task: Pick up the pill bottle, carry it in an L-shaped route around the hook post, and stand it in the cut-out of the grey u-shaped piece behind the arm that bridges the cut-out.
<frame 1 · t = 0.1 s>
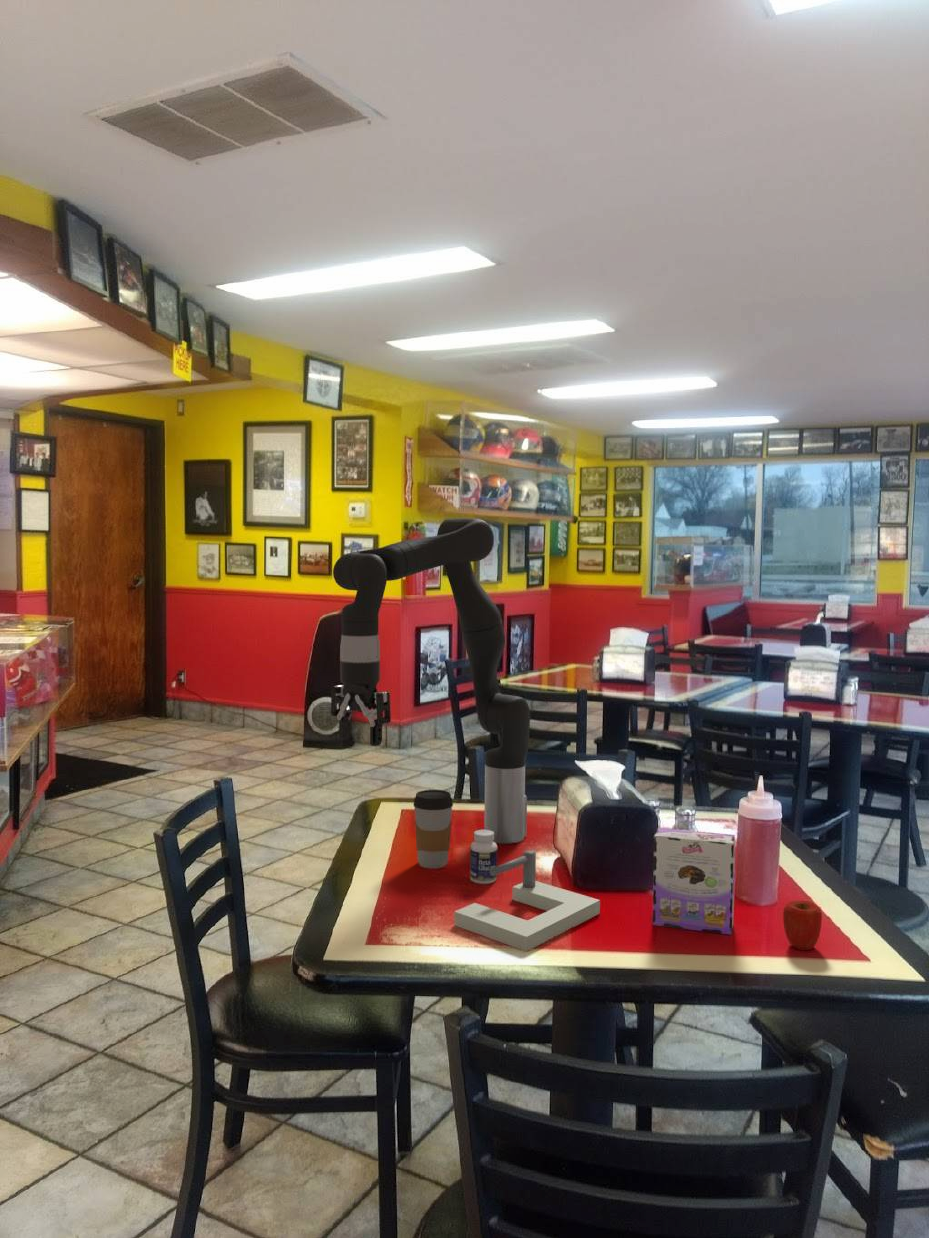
hand: (360, 742, 179), 29 cm above the table, fingers open, 8 cm apart
candy box: (692, 925, 166), on the table
pill bottle: (483, 880, 188), on the table
grey u-shaped piece: (528, 919, 168), on the table
apple: (801, 947, 157), on the table
coffee cup: (432, 864, 197), on the table
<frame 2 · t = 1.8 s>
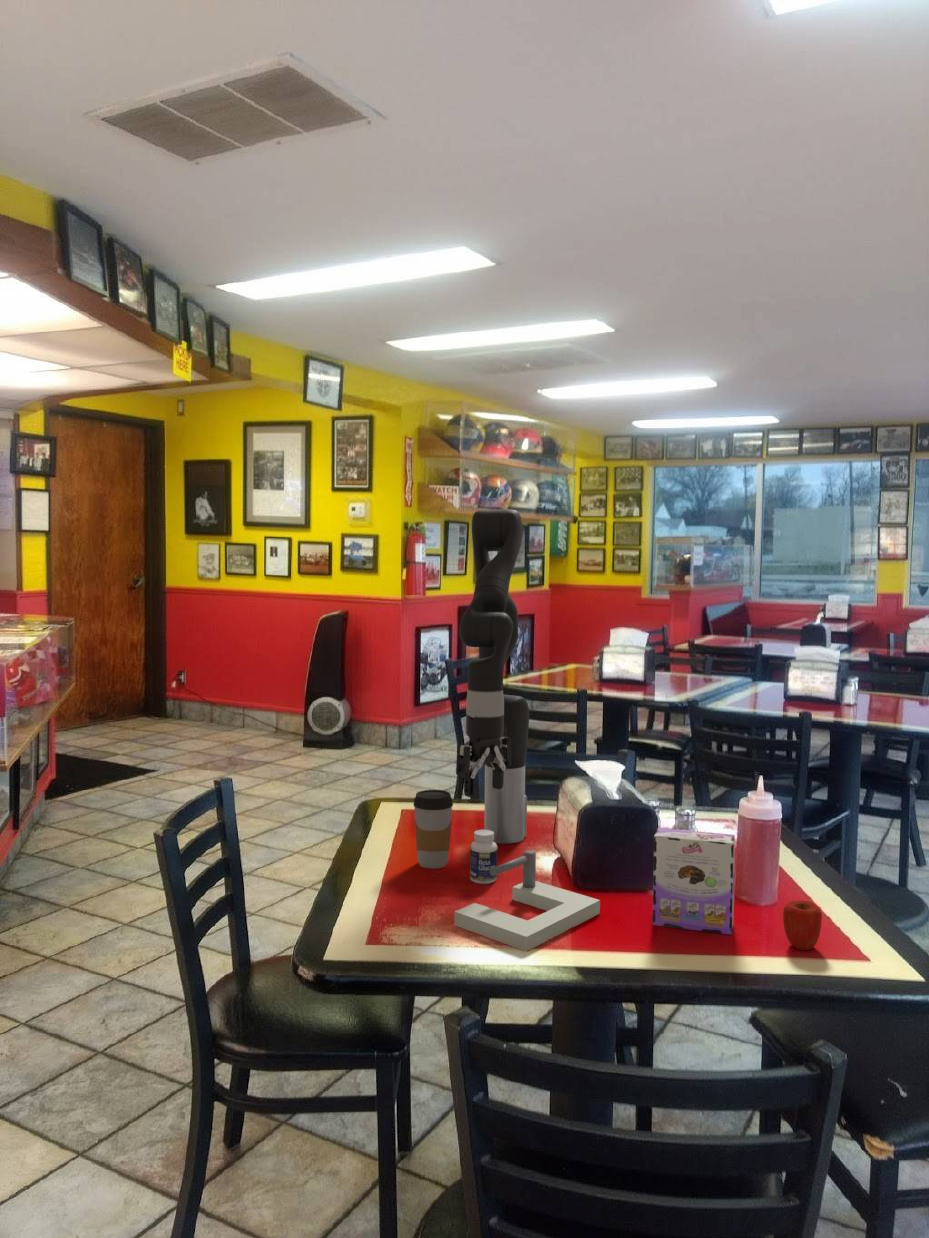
hand: (483, 792, 186), 18 cm above the table, fingers open, 8 cm apart
nothing on the table moved.
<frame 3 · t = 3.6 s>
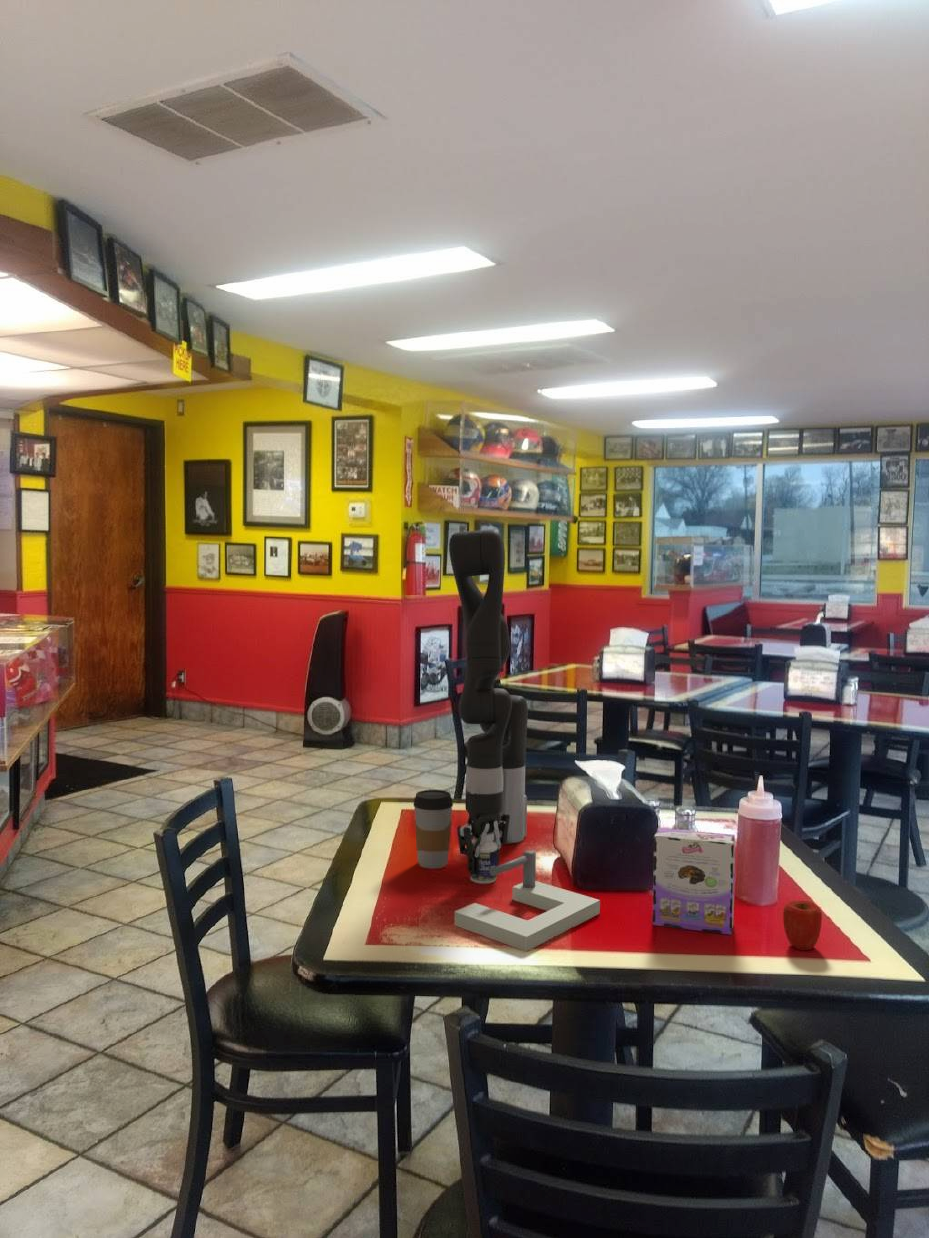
hand: (483, 869, 188), 2 cm above the table, fingers closed on pill bottle, 5 cm apart
pill bottle: (483, 880, 188), on the table, touching gripper
everything else where it was.
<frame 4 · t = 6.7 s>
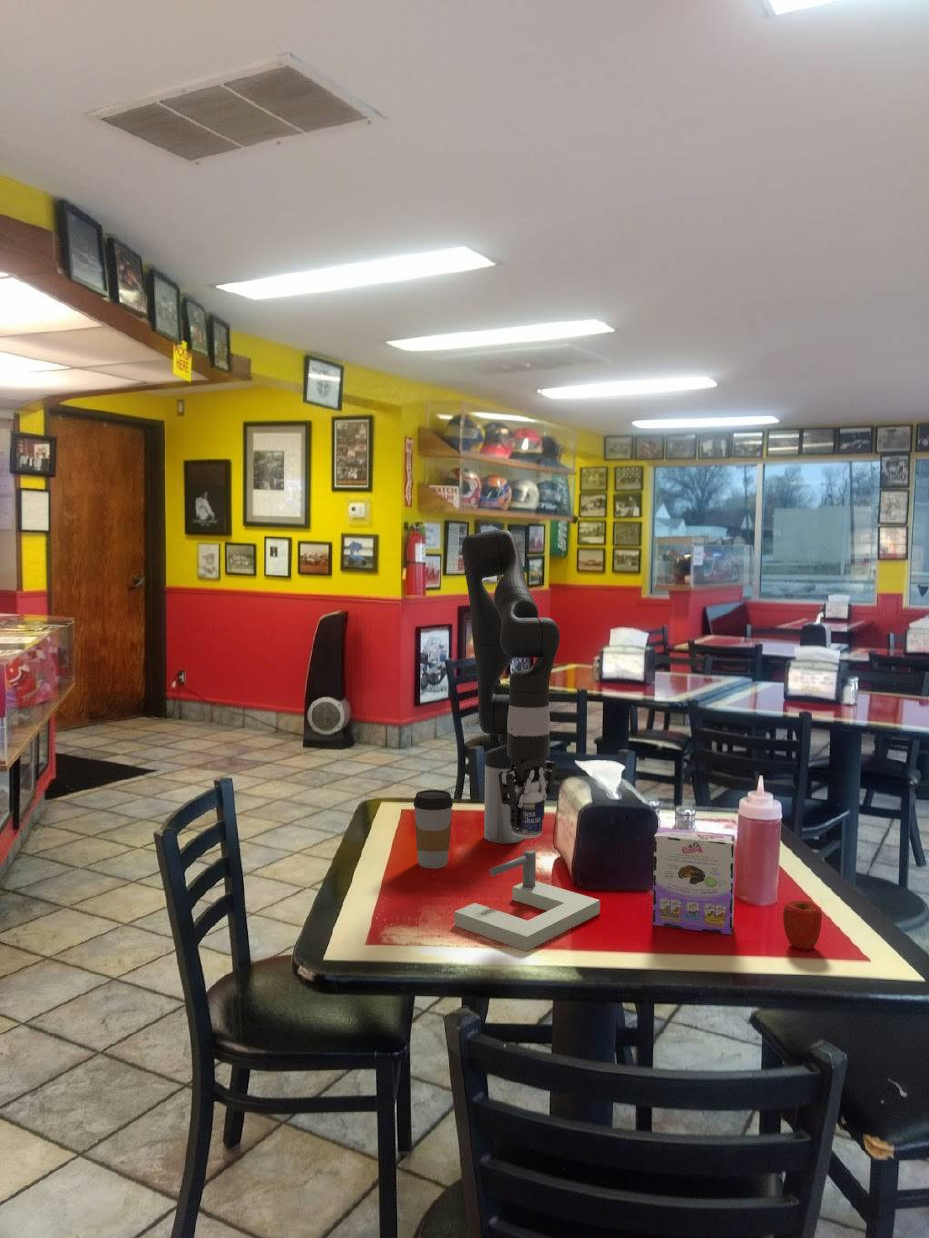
hand: (527, 823, 166), 18 cm above the table, fingers closed on pill bottle, 5 cm apart
pill bottle: (527, 835, 167), point 15 cm above the table, touching gripper
everything else where it was.
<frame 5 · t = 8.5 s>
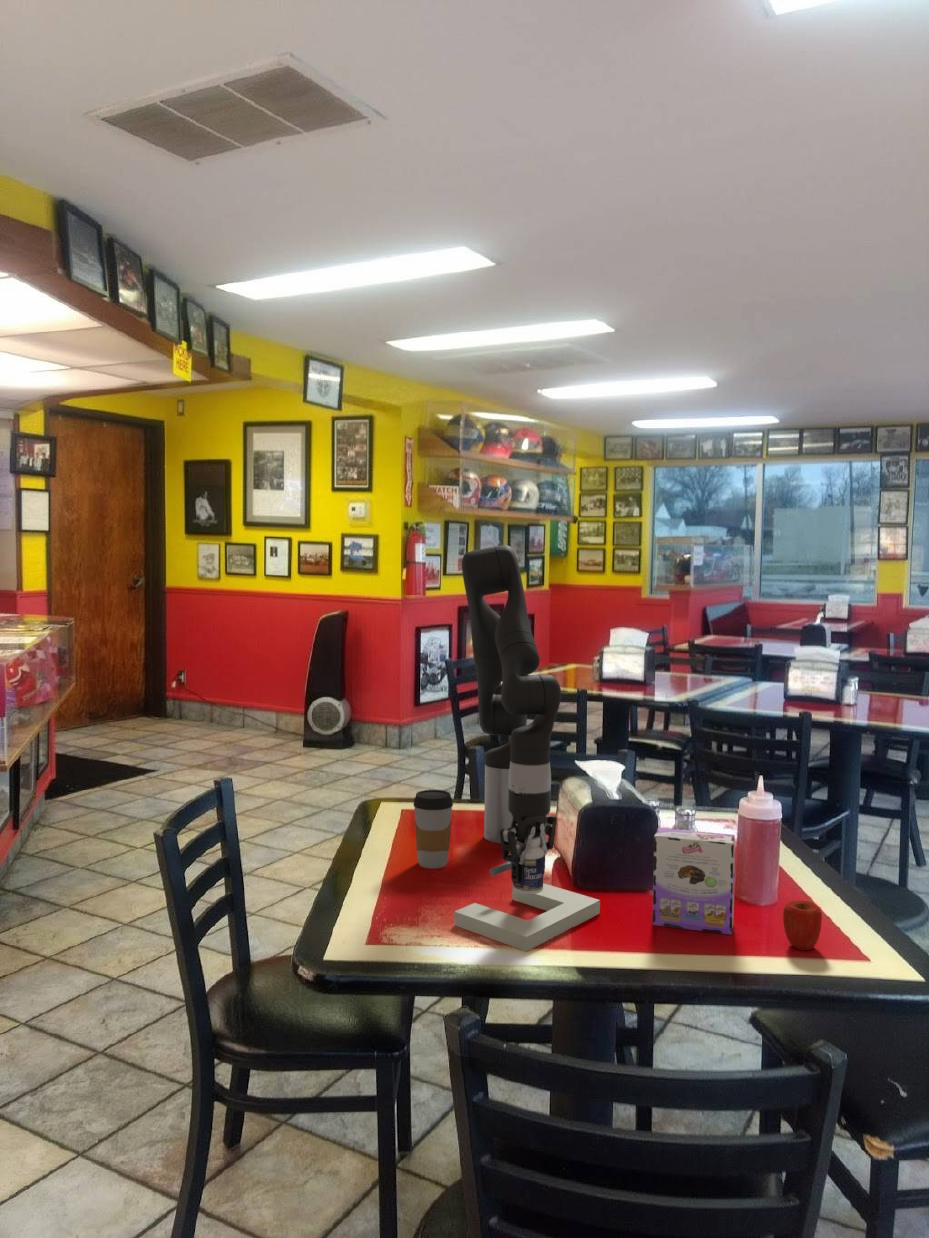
hand: (528, 878, 167), 7 cm above the table, fingers closed on pill bottle, 5 cm apart
pill bottle: (528, 890, 167), point 5 cm above the table, touching gripper
everything else where it was.
when the fingers open (3 cm above the table, at t = 9.8 s): pill bottle drops 1 cm, resting in grey u-shaped piece.
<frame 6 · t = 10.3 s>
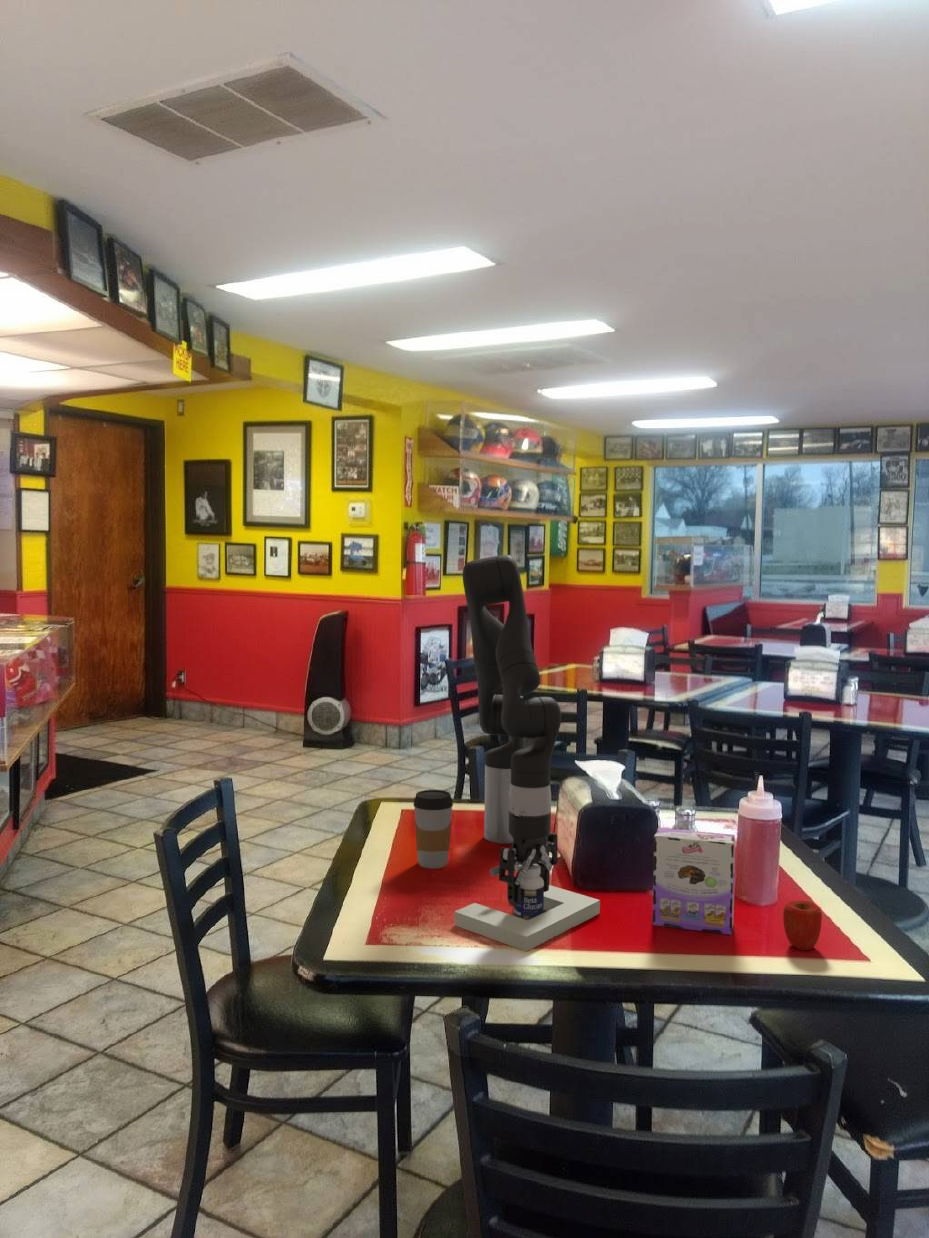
hand: (528, 896, 167), 4 cm above the table, fingers open, 8 cm apart
pill bottle: (528, 920, 168), resting in grey u-shaped piece
everything else where it was.
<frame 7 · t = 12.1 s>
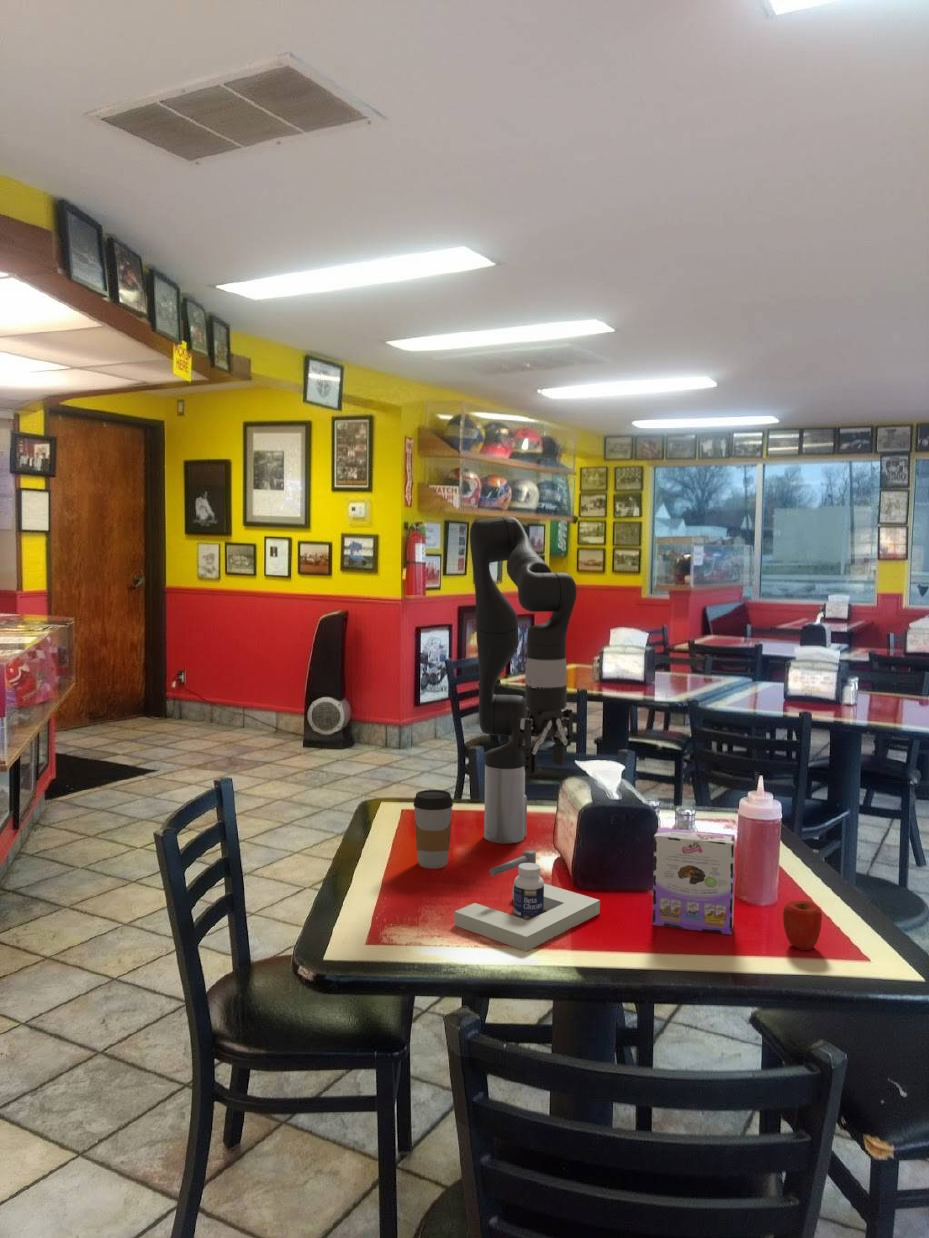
hand: (544, 769, 172), 26 cm above the table, fingers open, 8 cm apart
nothing on the table moved.
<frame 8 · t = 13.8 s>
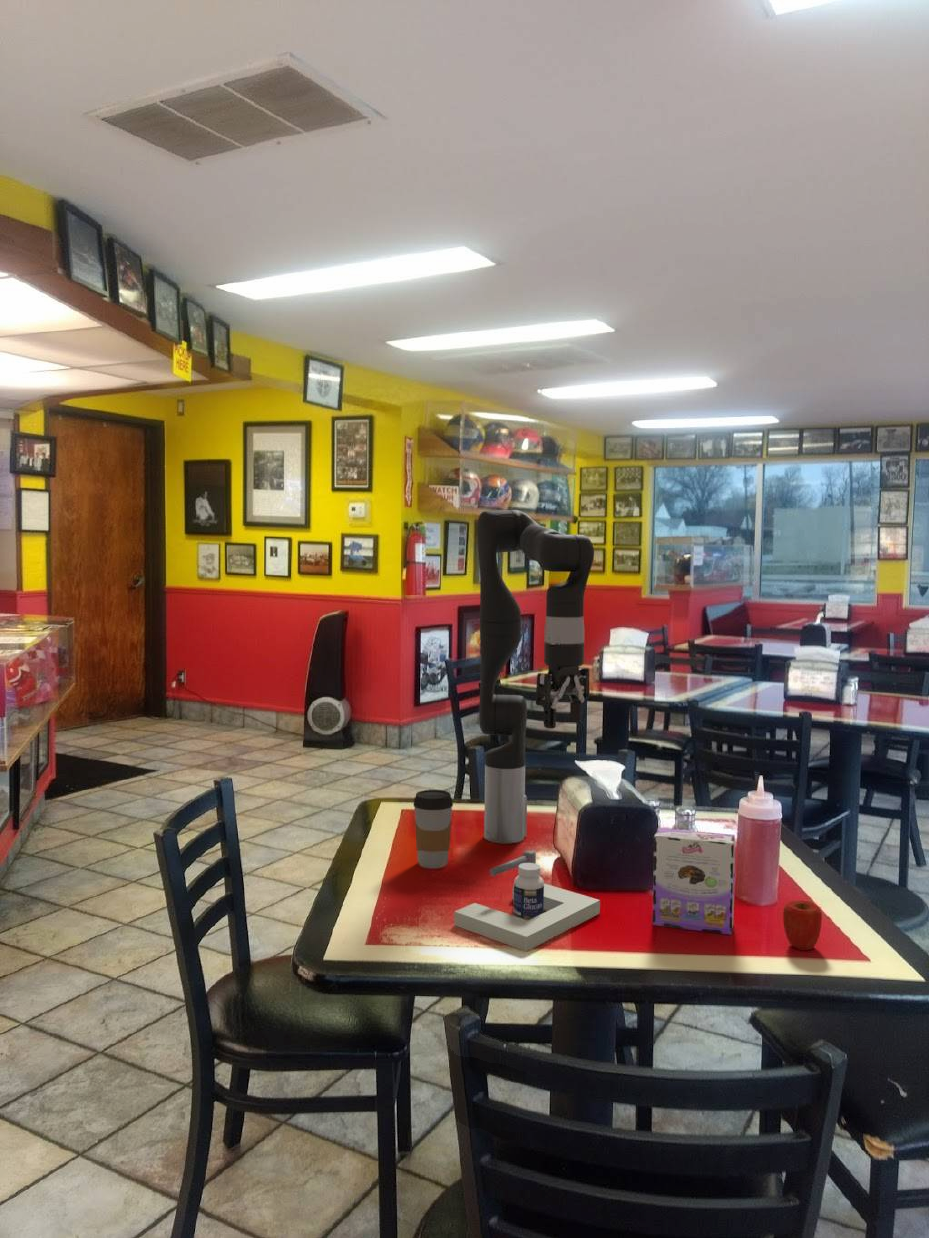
hand: (562, 724, 178), 33 cm above the table, fingers open, 8 cm apart
nothing on the table moved.
at the end: pill bottle inside the target area (0.4 cm from its centre), resting in grey u-shaped piece; pill bottle tilted 0°; the gripper is holding nothing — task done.
